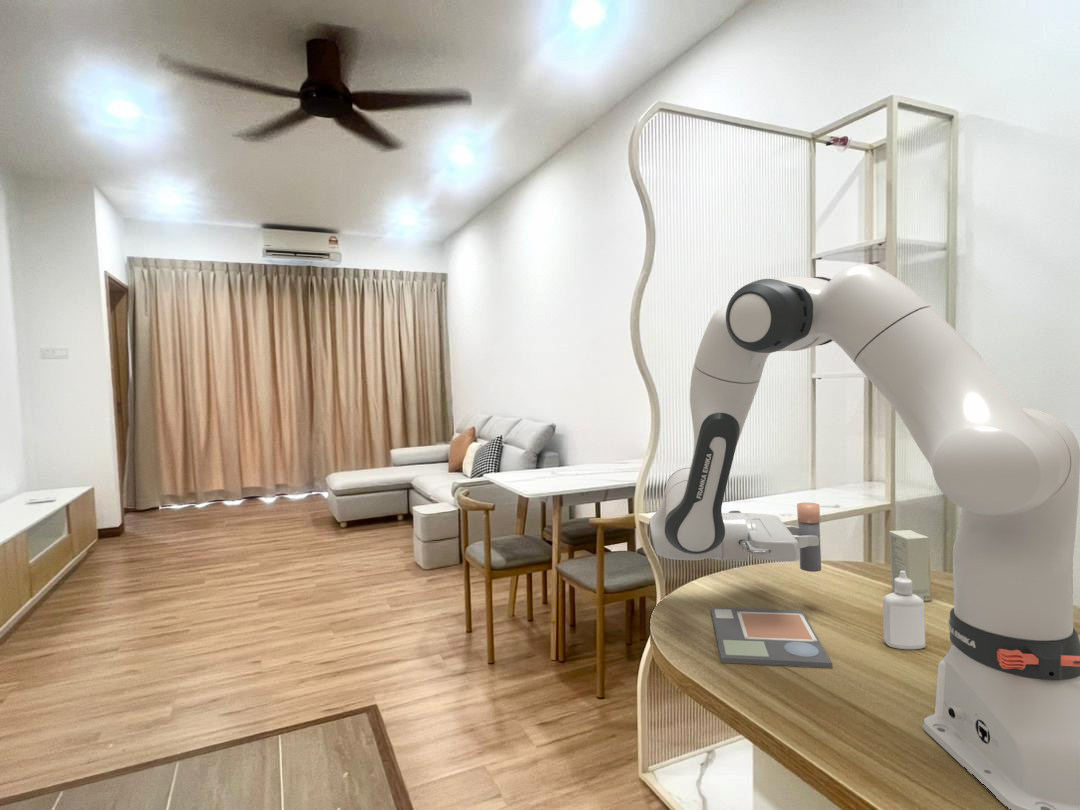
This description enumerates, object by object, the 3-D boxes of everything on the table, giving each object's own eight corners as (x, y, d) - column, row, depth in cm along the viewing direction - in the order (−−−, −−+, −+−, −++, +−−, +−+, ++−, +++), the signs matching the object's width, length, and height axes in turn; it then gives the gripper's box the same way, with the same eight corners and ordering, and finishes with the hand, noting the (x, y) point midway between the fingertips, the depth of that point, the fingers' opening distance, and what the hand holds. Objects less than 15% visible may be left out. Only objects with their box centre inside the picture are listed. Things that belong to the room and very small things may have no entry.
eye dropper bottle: (923, 655, 91) (922, 578, 91) (882, 646, 95) (880, 572, 94) (926, 644, 95) (925, 570, 94) (886, 635, 98) (884, 564, 98)
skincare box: (932, 601, 111) (931, 537, 111) (908, 602, 111) (907, 538, 111) (912, 589, 117) (911, 529, 117) (889, 590, 118) (888, 530, 117)
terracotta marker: (824, 572, 108) (821, 506, 107) (802, 571, 109) (799, 507, 108) (818, 565, 112) (816, 502, 111) (797, 565, 112) (795, 502, 112)
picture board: (832, 668, 89) (832, 662, 89) (721, 662, 92) (721, 656, 92) (802, 614, 108) (801, 609, 108) (711, 611, 112) (711, 606, 111)
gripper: (742, 534, 102) (829, 534, 99) (730, 508, 122) (801, 507, 119) (744, 570, 102) (830, 571, 100) (731, 538, 122) (802, 538, 120)
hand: (814, 536), depth 110 cm, fingers closed on terracotta marker, 4 cm apart
